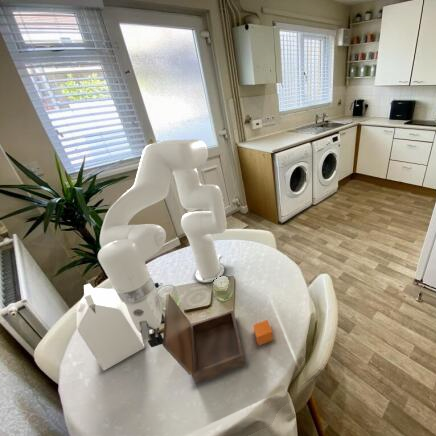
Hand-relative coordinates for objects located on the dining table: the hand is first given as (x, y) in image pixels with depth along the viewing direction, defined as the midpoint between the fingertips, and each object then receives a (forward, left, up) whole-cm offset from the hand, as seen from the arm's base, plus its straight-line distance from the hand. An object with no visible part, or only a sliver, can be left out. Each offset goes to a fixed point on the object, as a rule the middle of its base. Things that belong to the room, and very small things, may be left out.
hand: (158, 333), depth 67 cm
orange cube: (-14, +25, -16) cm, 33 cm away
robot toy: (-23, -32, -16) cm, 42 cm away
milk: (-3, -22, -16) cm, 27 cm away
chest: (-8, +11, -16) cm, 21 cm away
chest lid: (-3, +4, -2) cm, 6 cm away
